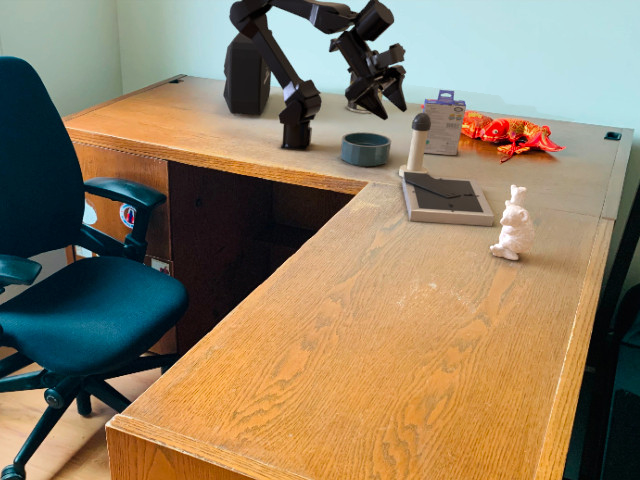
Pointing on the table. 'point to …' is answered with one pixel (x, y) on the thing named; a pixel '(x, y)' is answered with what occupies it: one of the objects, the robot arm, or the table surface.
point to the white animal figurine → (515, 227)
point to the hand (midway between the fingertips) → (396, 114)
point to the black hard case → (246, 77)
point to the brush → (417, 145)
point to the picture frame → (445, 200)
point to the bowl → (365, 149)
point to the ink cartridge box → (444, 123)
